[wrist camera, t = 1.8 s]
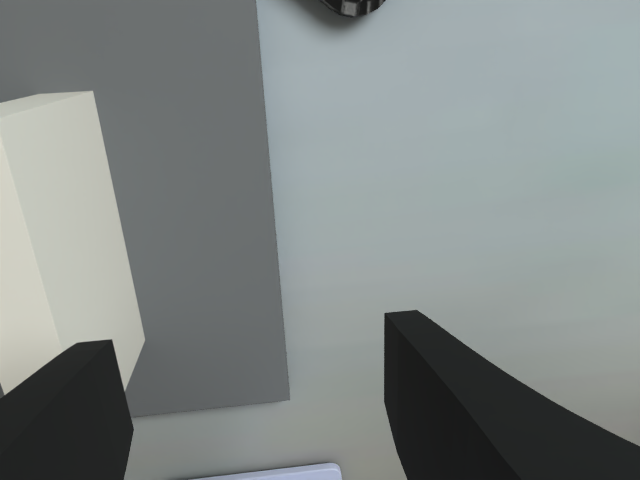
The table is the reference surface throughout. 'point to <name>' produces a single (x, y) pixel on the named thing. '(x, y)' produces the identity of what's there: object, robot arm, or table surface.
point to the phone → (353, 6)
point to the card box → (60, 239)
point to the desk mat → (175, 181)
